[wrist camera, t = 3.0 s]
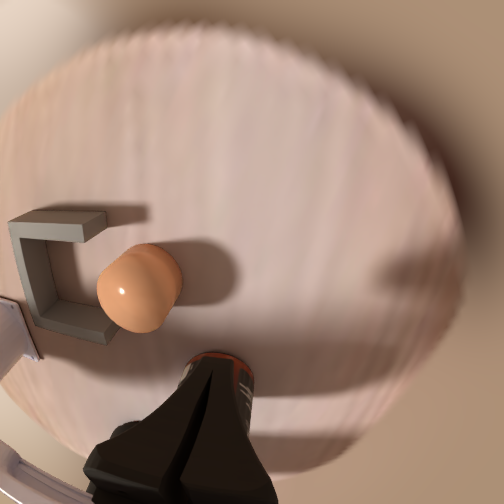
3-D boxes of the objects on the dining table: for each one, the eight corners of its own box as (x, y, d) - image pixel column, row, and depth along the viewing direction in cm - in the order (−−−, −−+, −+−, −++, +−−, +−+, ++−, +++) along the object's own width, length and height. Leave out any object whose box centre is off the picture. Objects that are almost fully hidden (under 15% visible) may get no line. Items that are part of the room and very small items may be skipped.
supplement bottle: (171, 361, 24) (126, 472, 13) (229, 338, 22) (199, 471, 12) (212, 402, 25) (187, 508, 15) (268, 385, 24) (259, 505, 13)
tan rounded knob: (125, 301, 22) (104, 326, 19) (116, 241, 20) (90, 260, 17) (184, 309, 21) (170, 338, 18) (180, 245, 20) (162, 267, 16)
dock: (53, 308, 23) (35, 325, 20) (31, 210, 19) (7, 221, 17) (122, 323, 23) (106, 345, 20) (105, 211, 19) (82, 224, 16)
